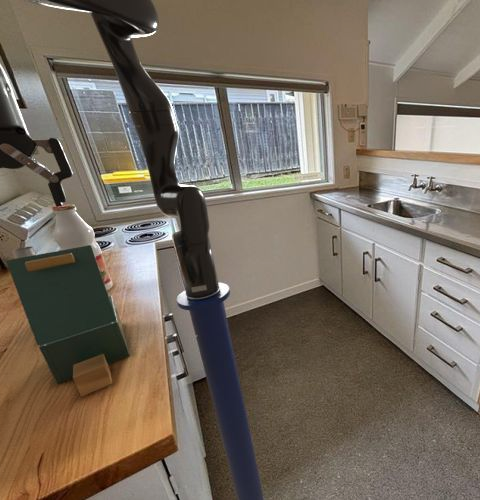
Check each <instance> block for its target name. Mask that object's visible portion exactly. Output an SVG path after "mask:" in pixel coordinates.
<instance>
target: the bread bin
mask: <svg viewBox="0 0 480 500" xmlns="http://www.w3.org/2000/svg"><path fill="white" fill-rule="evenodd" d="M108 296H109V295H108ZM109 299H110V302H111V305H112V308H113V310H114V313H115V316H116V319H117V320H116V321H114V322H110V323H107V324H104V325H101V326H98V327H95V328H92V329H89V330H86V331H83V332H79V333H76V334H73V335H70V336H67V337H64V338H61V339H58V340H55V341H52V342H48V343H45V344H42V345H39V347H38V348H39V350H40V353H41V355H42V357H43V359H44V361H45V362H46V365H47V366H48V369H49V370H50V372H51V374H52V377H53V378H54V380H55V382H56V385H57V384H61V383H63V382H66V381H68V380H71V379H73V365H74V364H77V363H80V362H83V361H85V360H88V359H91V358H93V357H96V356H99V355H101V354H104V357H105V359H106V362H107V364H108V365H109V364H111V363H114V362H117V361H120V360H121V359H124V358H127V357H129V356H130V352H129V348H128V343H127V340H126V335H125V331H124V327H123V324H122V321H121V318H120V315H119V312H118V310H117V307H116V304H115V302H114V298H113V296H112V295H110V296H109Z"/></svg>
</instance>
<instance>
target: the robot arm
mask: <svg viewBox="0 0 480 500" xmlns="http://www.w3.org/2000/svg"><path fill="white" fill-rule="evenodd" d="M23 1H25V2H27V3H32V4H35V5H39V6H43V7H47V8H54V9H60V10H68V11H69V10H70V11H76V12H77V11H78V12H84V13H85V12H86V13H90V17H91V18H92V19H93V20H92V21H93V23H94V25H95V27H96V30H97V32H98V35H99V37H100V39H101V41H102V43H103V45H104V48H105V50H106V53H107V55H108V57H109V60H110V62H111V65H112V67H113V70H114V73H115V75H116V78H117V81H118V83H119V85H120V88H121V91H122V94H123V97H124V100H125V103H126V107H127V111H128V113H129V116H130V119H131V123H132V125H133V128H134V131H135V133H136V135H137V138H138V141H139V144H140V148H141V152H142V154H143V157H144V160H145V163H146V167H147V170H148V174H149V179H150V183H151V188H152V193H153V197H154V201H155V204H156V206H157V208H158V210H159V211H160V213H161V214H162V215H163V216H165V217H167V218H171V219H179V224H180V230H177V231H175V232H173V233H172V235H171V238H172V243H173V247H174V252H175V255H176V258H177V259H176V260H177V263H178V267H179V271H180V274H181V279H182V282H183V286H184V290H185V291H186V296H187V299H189V300H193V301H199V300H205V299H208V298H211V297H213V296H215V295H217V294H218V293H219V292H220V287H219V283H218V282H219V278H218V274H217V273H218V272H217V269H216V263H215V259H214V255H213V249H212V244H211V241H210V235H209V233H210V228H211V227H210V217H209V211H208V204H207V200H206V197H205V195H204V193H203V192H202V190H201V189H200V188H199V187H198V186H195V185H188V184H181V182H180V181H179V178H178V175H177V171H176V165H175V164H176V163H175V162H176V161H175V160H176V154H177V149H178V145H179V144H178V143H179V139H180V137H179V135H180V132H179V127H178V126H179V125H178V123H177V120H176V116H175V111H174V107H173V106H172V103H171V100H169V98H168V97H167V95H166V94H165V92H164V91H163V90H162V89H161V87H160V86H159V85H158V84H157V83H156V82H155V81H154V80H153V78H152V77H151V76H150V74H148V72H147V71H146V70H145V68H144V66H143V65H142V63H141V61H140V59H139V56H138V54H137V51H136V48H135V45H134V42H133V38H141V37H148V36H151V35H153V34H155V33H156V32H157V30H158V28H159V24H160V22H159V19H160V18H159V14H158V11H157V8H156V6H155V3H154V2H153V0H23ZM38 147H40V148H42V149H43V150H44V151H45V153H48V154H53V156H54V159H55V162H56V165H57V166H58V168H59V171H57V172H53V171H52V170H50V169H49V168H47V166H45V165H44V164H42V163H41V162H39V161H37V160H36V159H35V158H34V157H33V156H34V154H35V152H36V151H37V149H38ZM24 167H26V168H28V169H30V171H33V172H34V173H36V174H38V175H39V176H41V177H42V178H43V179H45V180H47V181H48V183H47V186H48V188H49V191H50V194H51V197H52V199H53V202H54V206H56V207H60V206H63V205H64V204H63V203H66V201H67V196H66V193H65V190H64V188H63V185H62V181H64V180H67V179H69V178H72V177H73V175H74V172H73V170H72V168H71V165H70V163H69V161H68V158H67V156H66V153H65V151H64V149H63V145H62V143H61V141H60V140H59V139H58V138H55V137H50V138H46V139H34V138H33V137H32V136H31V135H30V133H29V131H28V129H27V125H26V123H25V120H24V117H23V115H22V112H21V110H20V107H19V104H18V102H17V98H16V97H15V94H14V91H13V88H12V85H11V83H10V80H9V77H8V75H7V73H6V72H5V70H4V68H3V66H2V64H1V63H0V169H8V170H20V169H22V168H24Z"/></svg>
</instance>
